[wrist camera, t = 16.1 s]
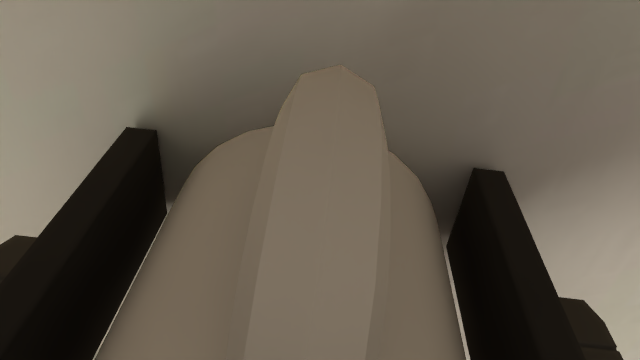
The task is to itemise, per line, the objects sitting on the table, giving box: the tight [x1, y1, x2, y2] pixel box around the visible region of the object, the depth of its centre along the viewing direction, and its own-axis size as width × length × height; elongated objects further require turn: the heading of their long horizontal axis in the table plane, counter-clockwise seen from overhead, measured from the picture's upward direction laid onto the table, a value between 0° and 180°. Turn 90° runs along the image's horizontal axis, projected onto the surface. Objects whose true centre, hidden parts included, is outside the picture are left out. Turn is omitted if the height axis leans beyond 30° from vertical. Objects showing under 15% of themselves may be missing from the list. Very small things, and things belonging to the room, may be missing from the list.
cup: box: [95, 65, 466, 360], centre depth 9 cm, size 7×10×9 cm
